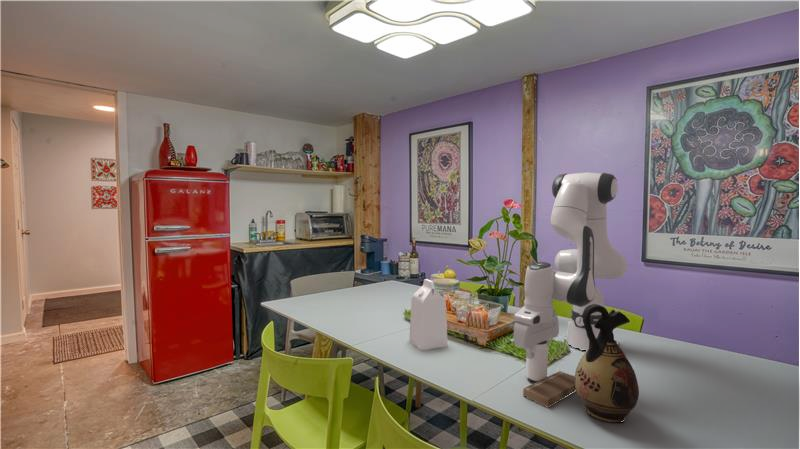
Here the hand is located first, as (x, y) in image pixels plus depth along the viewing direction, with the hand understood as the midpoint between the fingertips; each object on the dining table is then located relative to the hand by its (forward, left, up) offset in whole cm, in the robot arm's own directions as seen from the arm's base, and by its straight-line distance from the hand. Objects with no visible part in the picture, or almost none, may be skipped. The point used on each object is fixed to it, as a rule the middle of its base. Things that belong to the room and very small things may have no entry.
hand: (536, 355), depth 123 cm
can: (0, 0, -8) cm, 8 cm away
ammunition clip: (-9, -33, -9) cm, 36 cm away
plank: (+2, +8, -8) cm, 12 cm away
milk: (+7, -45, -9) cm, 47 cm away
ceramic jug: (+3, +22, -9) cm, 24 cm away
